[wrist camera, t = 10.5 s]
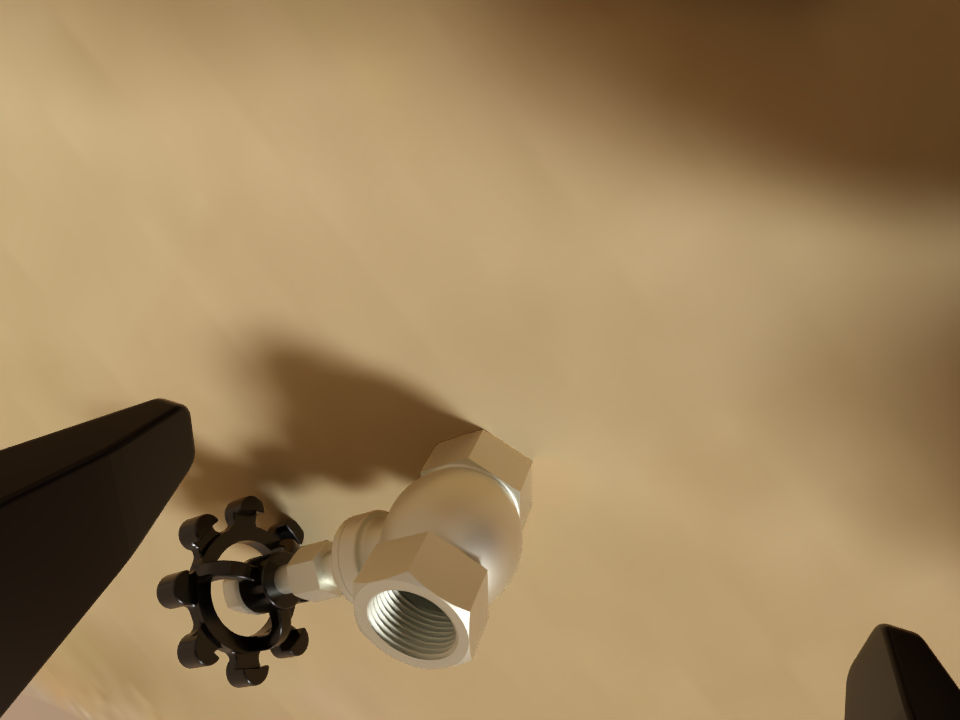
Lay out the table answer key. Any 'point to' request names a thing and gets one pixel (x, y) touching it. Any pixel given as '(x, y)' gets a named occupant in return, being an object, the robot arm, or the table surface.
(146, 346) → the table surface
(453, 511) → the valve
